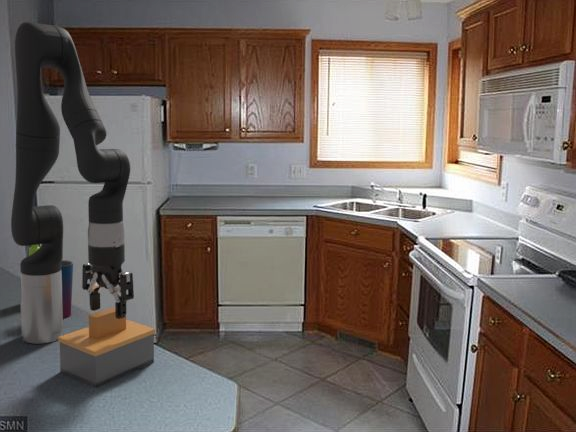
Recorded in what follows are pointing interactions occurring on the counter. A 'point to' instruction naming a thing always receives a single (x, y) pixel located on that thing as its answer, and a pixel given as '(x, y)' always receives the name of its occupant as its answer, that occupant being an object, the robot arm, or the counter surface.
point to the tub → (106, 361)
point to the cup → (66, 287)
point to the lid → (105, 333)
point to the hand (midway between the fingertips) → (107, 313)
